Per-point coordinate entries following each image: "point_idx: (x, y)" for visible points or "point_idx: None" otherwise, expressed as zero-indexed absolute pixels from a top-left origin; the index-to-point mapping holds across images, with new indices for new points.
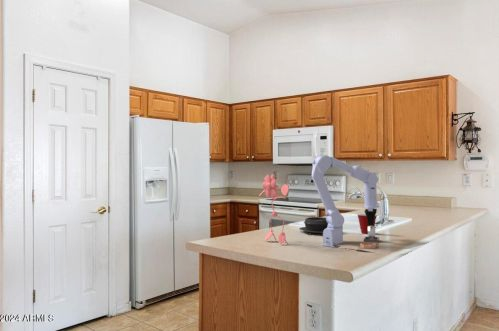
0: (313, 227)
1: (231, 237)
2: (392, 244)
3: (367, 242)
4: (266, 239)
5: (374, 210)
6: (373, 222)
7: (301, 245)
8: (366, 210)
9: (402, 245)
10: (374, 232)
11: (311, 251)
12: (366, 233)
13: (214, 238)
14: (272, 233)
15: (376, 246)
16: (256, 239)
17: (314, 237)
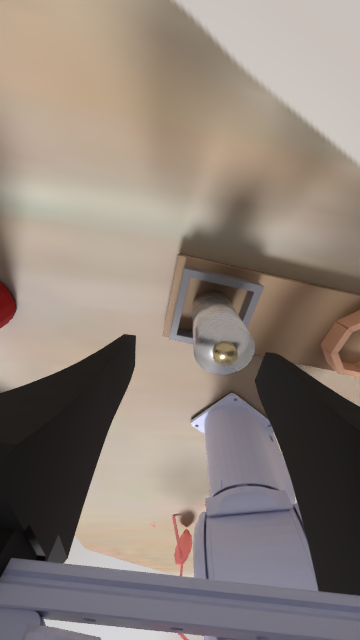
0: None
1: (146, 558)
2: (210, 188)
3: (338, 347)
4: (187, 534)
5: (43, 466)
6: (298, 370)
7: None
8: (67, 538)
9: (243, 115)
10: (237, 314)
11: None
12: (3, 312)
13: (161, 570)
14: (189, 551)
15: (355, 302)
16: (161, 536)
17: (102, 458)
